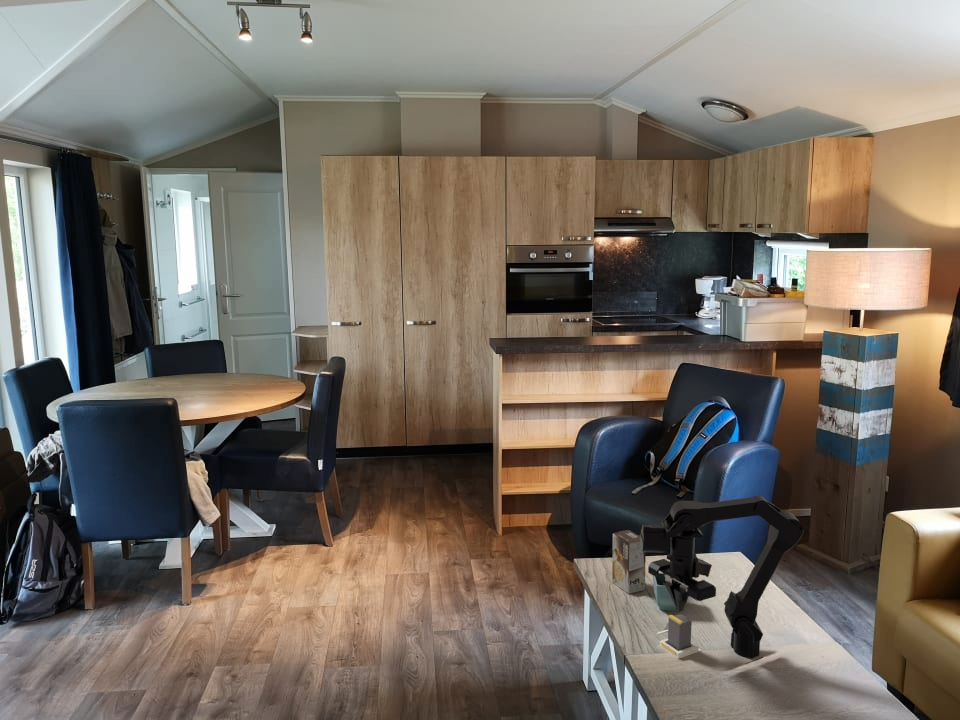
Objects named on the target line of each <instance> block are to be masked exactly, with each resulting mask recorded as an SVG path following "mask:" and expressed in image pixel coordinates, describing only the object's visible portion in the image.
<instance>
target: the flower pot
mask: <svg viewBox="0 0 960 720" xmlns="http://www.w3.org/2000/svg"><path fill="white" fill-rule="evenodd" d="M664 575H665V574H664V573H662V572H659V574H658V575H657V576H653V575H652V581H653V591H654V596H655V599H656V603H657V606H658V608H659V610H660V611H674V612H679V611H678V610H677V609H676V607H675V605H674V602H673V600H672V598H671V596H670V594H669V592H668V590H667V588H666V586H665V585H664V584H663V581H665V576H664Z"/></svg>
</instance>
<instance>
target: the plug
mask: <svg viewBox="0 0 960 720" xmlns="http://www.w3.org/2000/svg"><path fill="white" fill-rule="evenodd" d="M667 622H668V626H667V627H668V631H667V638H668V645H670V646H671V647H673V648H674V649H676V650H677V651H680V650H683V649H686V648H689V647H691V642H692V641H691V640H692V620H691V619H690V618H688V617H686V616H685V615H683V614H681V613H679V614H675V615H672V614H669V615H668V621H667Z"/></svg>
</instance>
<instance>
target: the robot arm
mask: <svg viewBox="0 0 960 720" xmlns="http://www.w3.org/2000/svg"><path fill="white" fill-rule="evenodd" d="M669 511H670V512H669V513H668V514H667V515H666V517H665V518H664V519H663V520H662V521H661V525H660V524H659V525H658V524H656V525H655V524H645V523H643V524H642V525H641V529H640V533H639V536H640V548H641V552H646V553H663V554H664V553H666V552H668V550H669V549H670V553H669V554H666V559H665V558H662V559H659V560H654V561H651V562H650V563H649V564H648V569H647V572H648V574H650V575H651V576H652V577H653V576H657V575H658V574H659V573H664V574H665V575H664V576H665V581H663V584H664V585H665V586H666V588H667V590H668V592H669V594H670V596H671V598H672V600H673V602H674V605H675V607H676V609H677V610H678V611H677V612H682V611H683V610H684V608H685V606H686V603H687V602H688V599H689V597H690V598H692V599H693V600H695V601H697V602H698V601H699V602H702V601H705V600H708V599H711V598H716V596H717V587H716V586H715V585H714V584H712V583H711V582H708V581H707V580H705V579H701V580H696V579H698V578H700V575H701V576H705V577H706V578H709V576H710V572H711V568H712V564H711V563H709V562H707V561H705V560H702V559H701V558H698V556H697V553H695V541H696V540H695V539H702V538H704V534H703V533H702V531H701V530H700V529H699V528H701V527H703V526H705V525H706V524H709V523H711V522H718V521H719V522H720V521H725V520H733V519H734V520H735V519H742V518H750V517H758V516H759V517H760V518H762V519H763V520H764V521H766V522H767V523H768V524H769V527H768V533H767V540H766V544H765V545H764V547H763V548H762V551H761V553H760V554H759V556H758V559H757V560H756V562H755V564H754V565H753V567H752V570H751V571H750V574H749V575H748V577H747V579H746V581H745V583H744V585H743V587H742V589H741V590H739V591H738V592H736V593H735V592H734V591H730V592H729V595H728V597H727V599H726V601H725V602H723V605H724V614H725V616H726V618H727V620H728V622H729V624H730V626H731V628H732V632H731V633H730V634H731V635H730V648H731V649H733V652H734V653H735V654H736V655H738V656H740V657H743V658H747V659H749V660H750V659H751V661H749V662H746V663H745V664H749V663H752V662H755V661H758V660H760V659H763V658H764V656H762V657H760V658H757V657H759V656H760V652H761V650H760V648H761V646H760V644H761V640H762V638H763V636H764V633H763V632H762V629H761V628H760V626H759V624H758V622H757V621H756V619H757V617H758V611H759V609H758V608H759V602H760V599H761V598H762V595H763V594H764V592H765V590H766V588H767V587H768V585H769V582H771V579H772V577H773V576H774V574H775V571H776V569H777V568H778V565H779V564H780V562H781V560H782V559H783V557H784V555H785V553H786V552H788V551H789V550H791V549H792V548H793V547H795V546H796V545H797V543H799V541H800V540H801V539H802V537H803V534H804V533H805V529H804V527H803V524H802V523H801V522H800V520H799V519H798V518H797V517H796V516H795V514H793V513H792V512H790V511H789V510H786V509H785V510H782V509H780V508H779V507H777V506H776V505H775V504H773V503H771V502H769V501H768V500H766V499H765V497H763V496H761V495H755V496H752V497H751V496H750V497H744V498H743V497H742V498H738V499H730V500H722V501H715V502H714V501H713V502H701V501H696V500H678V501H676V502H674V503H673V504H672V506H671V507H670V510H669ZM754 658H757V659H754ZM752 659H753V660H752Z"/></svg>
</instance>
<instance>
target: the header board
mask: <svg viewBox="0 0 960 720" xmlns="http://www.w3.org/2000/svg"><path fill="white" fill-rule="evenodd" d="M666 632H667V633H668V629H665V630H661V631H659V632H656V634H657V635H660V634H663V633H666ZM659 648H661V649H662V650H664V651H665V652H667V653H669V654H670V655H671V656H673V657H674V658H675V659H682V658H685V657H687V656H690V655H693V654H696V653H699V652H702V649H701V648H699V646H698V645H697V644H696V643H694V642H692V641H691V647H689V648H686V649H683V650H680V651H677V650H676V649H674V648H673V647H671V646H670V645H668V637H667V638H666V639H665V638H664V639H662V640H659Z"/></svg>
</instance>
